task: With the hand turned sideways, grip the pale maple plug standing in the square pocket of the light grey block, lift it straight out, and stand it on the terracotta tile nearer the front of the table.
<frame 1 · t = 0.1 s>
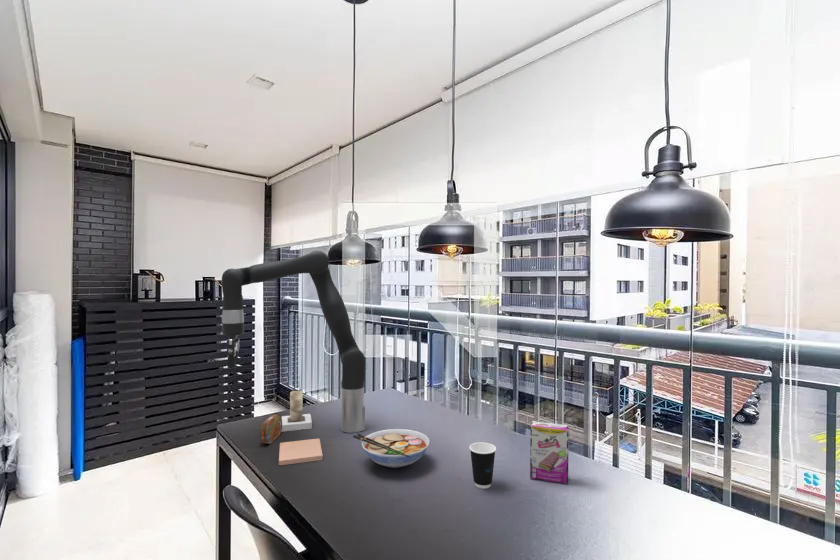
hand: (233, 364, 153), 29 cm above the table, tool pointing down, fingers open, 8 cm apart
maple plug: (296, 408, 171), in the pocket block
tin: (271, 440, 156), on the table
terracotta tile: (300, 453, 143), on the table
candy bar box: (549, 479, 124), on the table
pocket block: (296, 425, 171), on the table
ramen bowl: (395, 463, 135), on the table
dixie cup: (482, 485, 120), on the table
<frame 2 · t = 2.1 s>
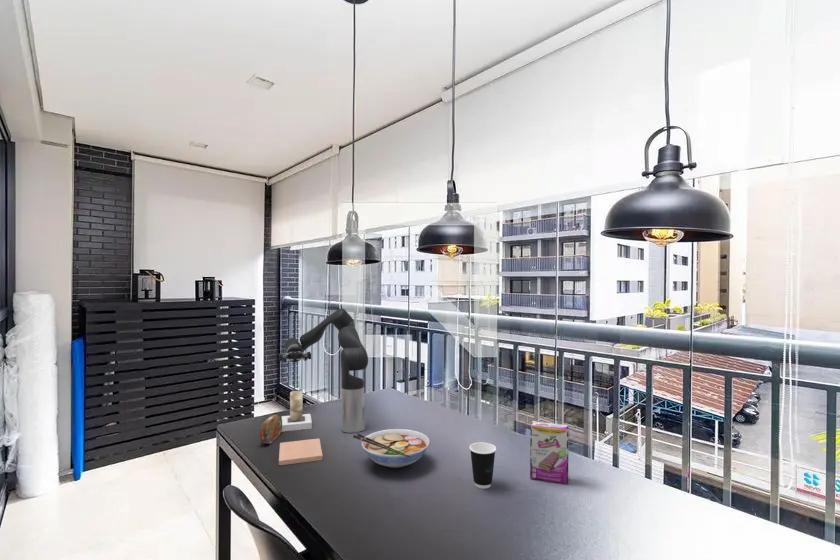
hand: (295, 359, 182), 26 cm above the table, tool horizontal, fingers open, 8 cm apart
nothing on the table moved.
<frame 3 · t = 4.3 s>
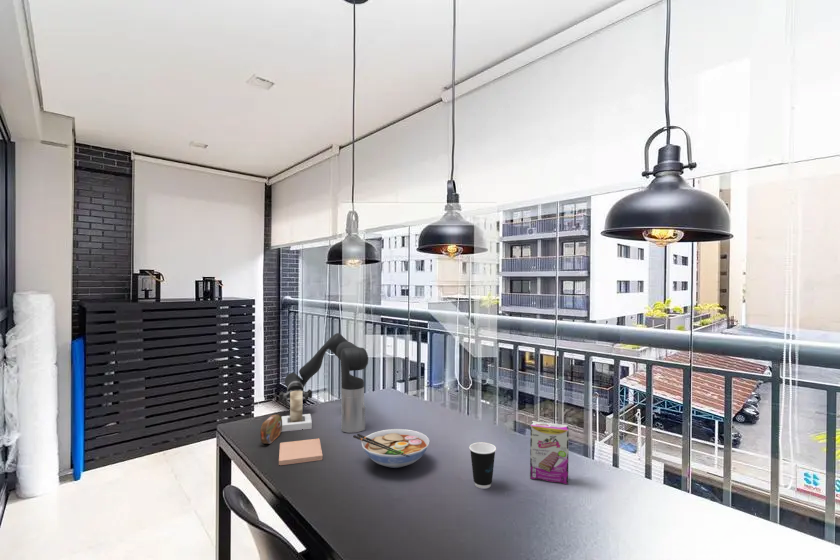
hand: (296, 399, 180), 8 cm above the table, tool horizontal, fingers open, 8 cm apart
nothing on the table moved.
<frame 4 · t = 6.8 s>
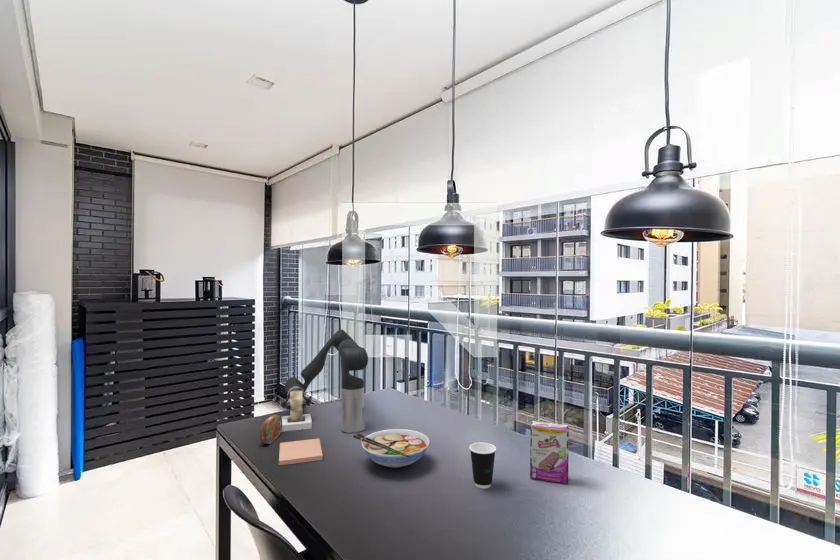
hand: (296, 406, 169), 9 cm above the table, tool horizontal, fingers closed on maple plug, 5 cm apart
maple plug: (296, 408, 171), in the pocket block, touching gripper
everything else where it was.
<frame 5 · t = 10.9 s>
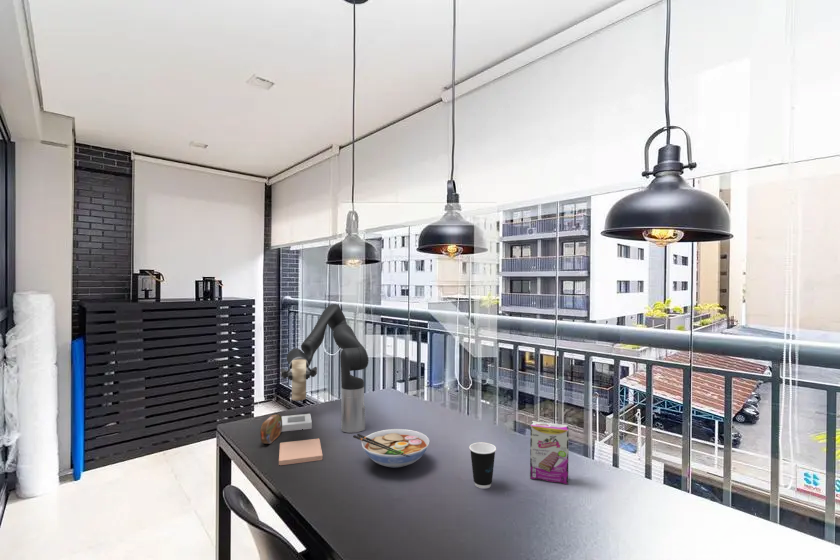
hand: (299, 377, 147), 26 cm above the table, tool horizontal, fingers closed on maple plug, 5 cm apart
maple plug: (299, 379, 150), point 24 cm above the table, touching gripper
everything else where it was.
when the fingers open (11 cm above the table, at t = 14.8 s): maple plug stays where it is, resting on terracotta tile.
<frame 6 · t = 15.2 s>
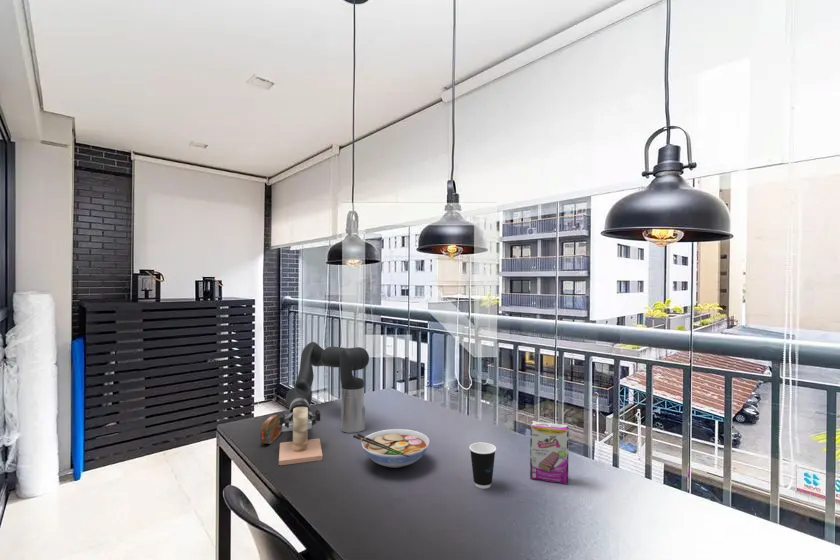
hand: (300, 423, 141), 11 cm above the table, tool horizontal, fingers open, 8 cm apart
maple plug: (300, 428, 143), on the terracotta tile, point 8 cm above the table
everything else where it was.
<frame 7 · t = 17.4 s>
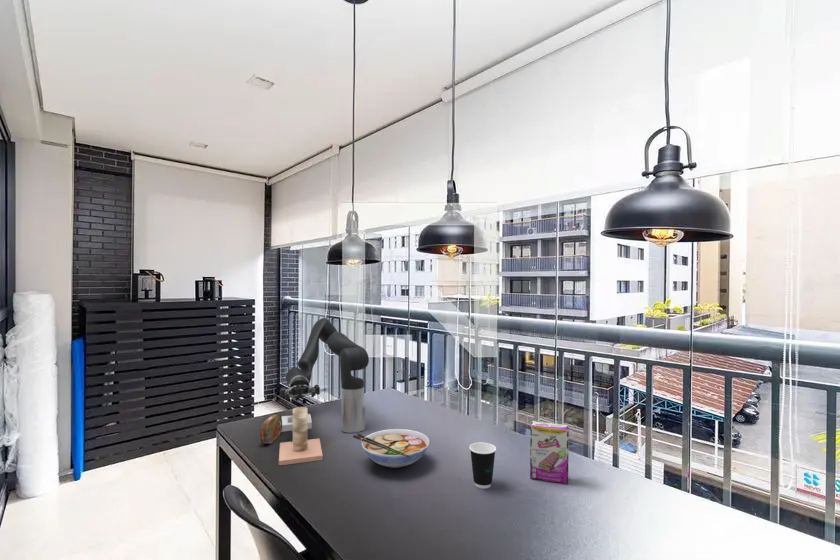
hand: (300, 395, 147), 19 cm above the table, tool horizontal, fingers open, 8 cm apart
nothing on the table moved.
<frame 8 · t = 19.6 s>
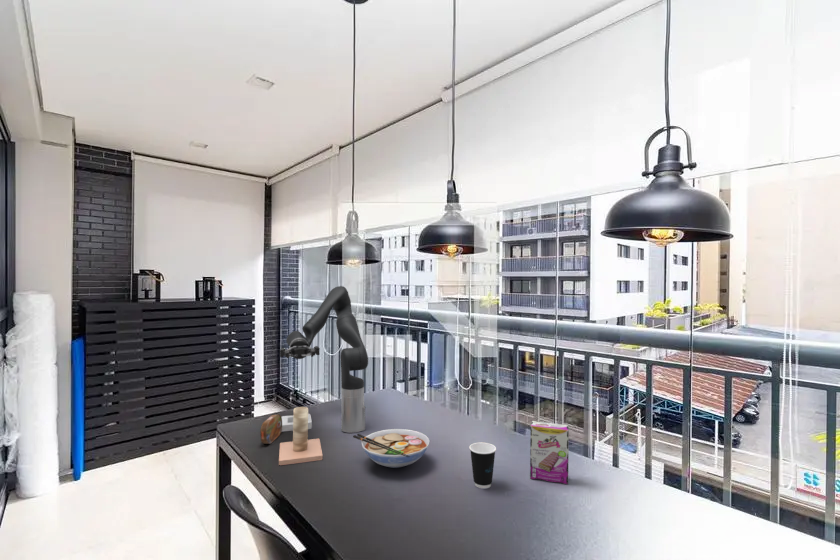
hand: (300, 354, 147), 34 cm above the table, tool horizontal, fingers open, 8 cm apart
nothing on the table moved.
at the end: maple plug inside the target area on the terracotta tile (0.1 cm from its centre), point 8.5 cm above the terracotta tile's base; maple plug tilted 1°; the gripper is holding nothing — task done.
